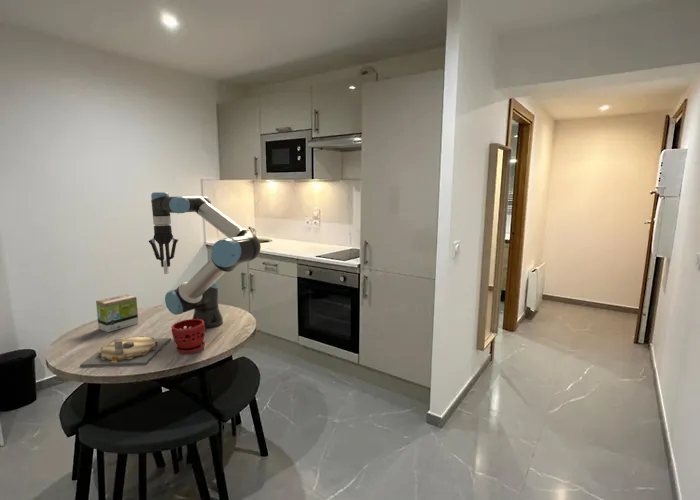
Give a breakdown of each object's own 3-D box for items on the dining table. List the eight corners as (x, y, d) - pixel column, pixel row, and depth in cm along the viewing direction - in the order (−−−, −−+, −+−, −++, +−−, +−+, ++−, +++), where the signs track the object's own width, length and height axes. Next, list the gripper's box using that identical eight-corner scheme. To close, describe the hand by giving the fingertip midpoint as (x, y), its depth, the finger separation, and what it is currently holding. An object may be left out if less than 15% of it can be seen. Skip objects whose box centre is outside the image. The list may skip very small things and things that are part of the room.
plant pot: (200, 341, 175) (198, 316, 173) (210, 350, 165) (208, 324, 163) (170, 348, 167) (167, 322, 165) (178, 359, 157) (176, 331, 155)
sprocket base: (170, 340, 176) (170, 336, 176) (146, 364, 152) (145, 360, 151) (114, 341, 174) (114, 338, 174) (80, 366, 150) (79, 363, 150)
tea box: (108, 333, 185) (105, 303, 183) (98, 329, 190) (94, 300, 188) (139, 323, 198) (136, 296, 195) (128, 320, 203) (126, 293, 201)
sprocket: (117, 340, 173) (115, 326, 172) (166, 339, 174) (165, 325, 173) (86, 361, 152) (84, 346, 151) (142, 360, 152) (140, 345, 151)
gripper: (145, 226, 177) (149, 275, 180) (175, 225, 180) (179, 274, 183) (149, 224, 184) (153, 272, 188) (178, 223, 187) (182, 271, 191)
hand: (166, 273), depth 185 cm, fingers closed
